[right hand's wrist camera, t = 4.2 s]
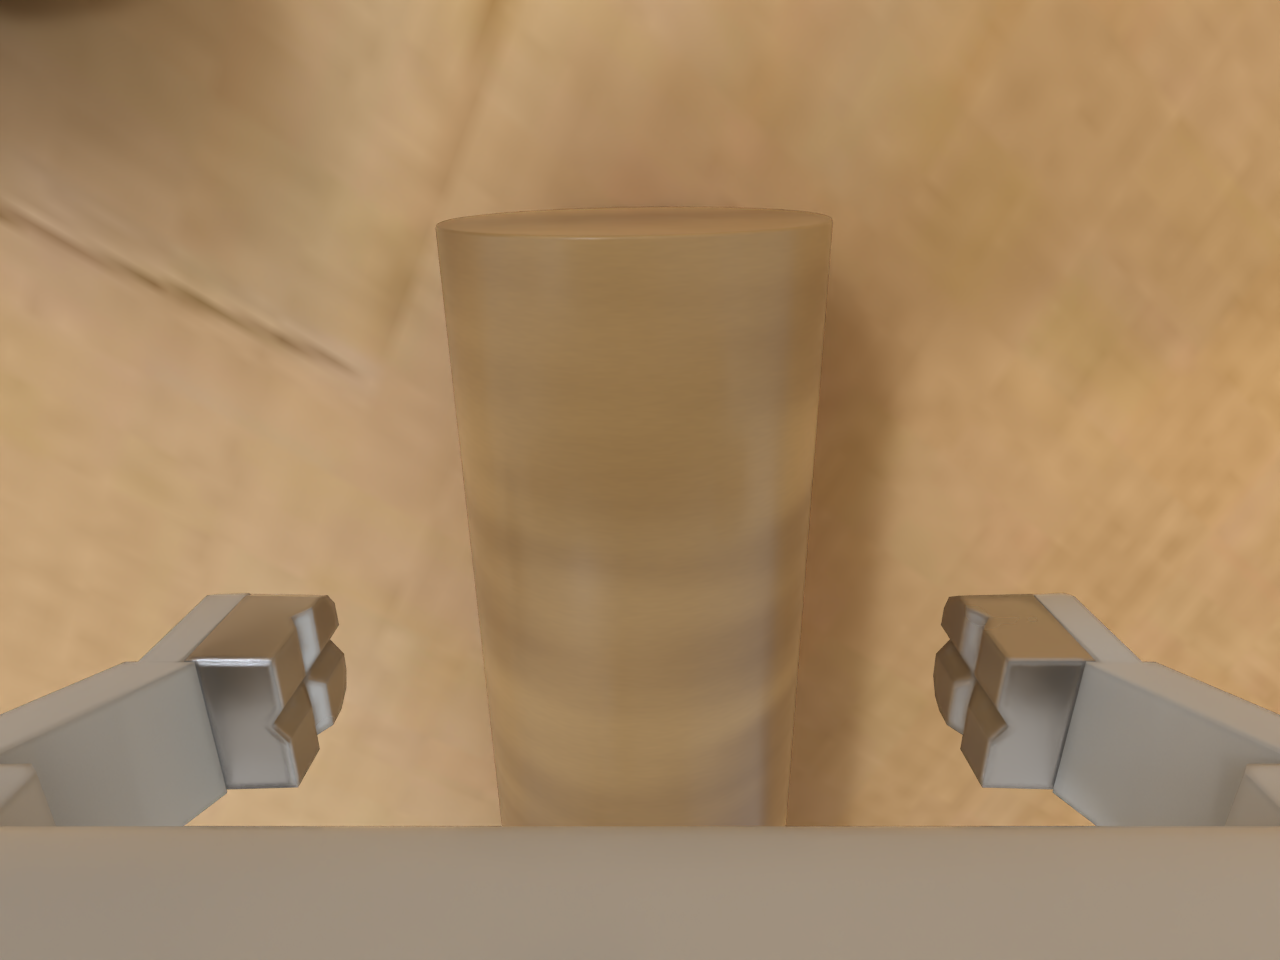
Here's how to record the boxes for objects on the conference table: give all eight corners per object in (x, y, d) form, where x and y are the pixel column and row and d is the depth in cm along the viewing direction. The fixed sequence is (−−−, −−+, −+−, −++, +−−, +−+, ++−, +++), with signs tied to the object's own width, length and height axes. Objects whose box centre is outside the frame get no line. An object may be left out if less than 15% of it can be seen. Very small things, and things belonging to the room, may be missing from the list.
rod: (476, 209, 15) (381, 239, 9) (790, 204, 15) (886, 231, 9) (549, 1010, 24) (523, 1271, 18) (745, 1007, 24) (779, 1266, 18)
